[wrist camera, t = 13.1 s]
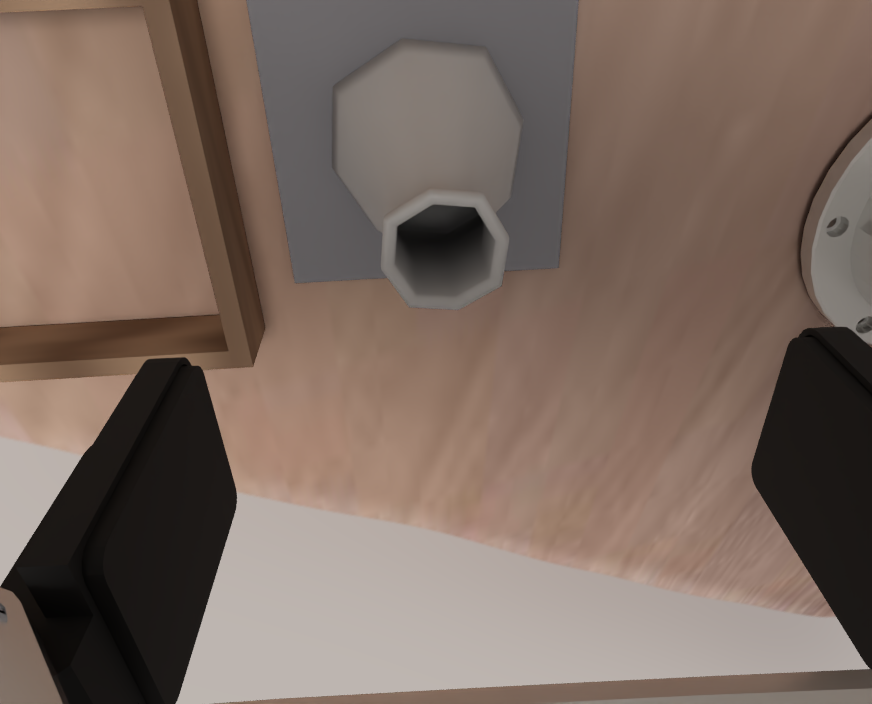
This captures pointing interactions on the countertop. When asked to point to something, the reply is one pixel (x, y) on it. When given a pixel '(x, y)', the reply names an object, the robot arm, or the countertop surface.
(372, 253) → the charcoal mat
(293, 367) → the countertop surface
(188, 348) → the walnut frame
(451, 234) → the flask
